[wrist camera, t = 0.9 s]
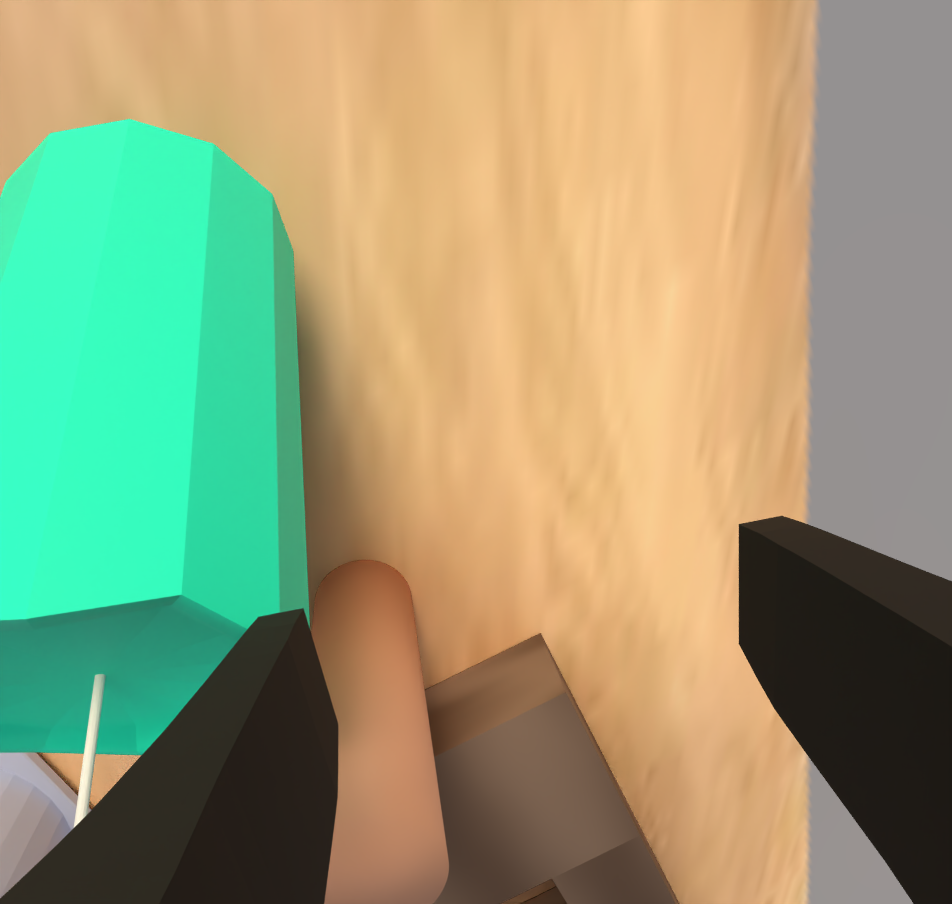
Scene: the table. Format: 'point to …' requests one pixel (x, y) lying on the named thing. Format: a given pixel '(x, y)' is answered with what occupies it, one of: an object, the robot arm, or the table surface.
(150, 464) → the candle
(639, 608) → the table surface
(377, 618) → the peg
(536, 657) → the hole block
